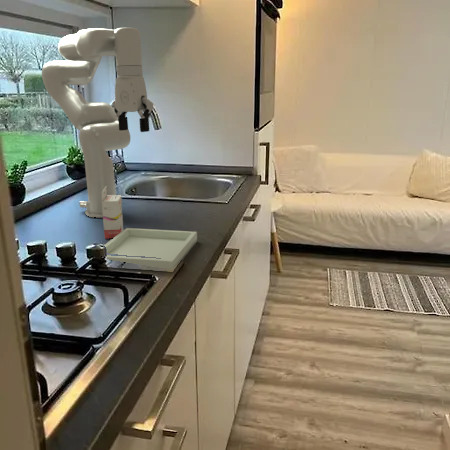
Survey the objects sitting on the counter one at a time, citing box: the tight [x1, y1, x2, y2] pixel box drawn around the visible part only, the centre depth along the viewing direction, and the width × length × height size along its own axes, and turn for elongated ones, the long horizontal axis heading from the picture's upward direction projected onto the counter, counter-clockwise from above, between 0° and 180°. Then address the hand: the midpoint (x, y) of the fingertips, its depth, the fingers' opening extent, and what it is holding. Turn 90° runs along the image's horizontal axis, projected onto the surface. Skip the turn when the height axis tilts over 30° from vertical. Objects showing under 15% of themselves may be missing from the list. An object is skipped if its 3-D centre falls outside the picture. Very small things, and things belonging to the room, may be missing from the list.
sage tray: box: [103, 227, 198, 269], centre depth 132 cm, size 22×24×3 cm
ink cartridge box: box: [102, 186, 124, 240], centre depth 147 cm, size 9×5×15 cm, turn 5°
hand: (134, 130), depth 147 cm, fingers open, 9 cm apart
